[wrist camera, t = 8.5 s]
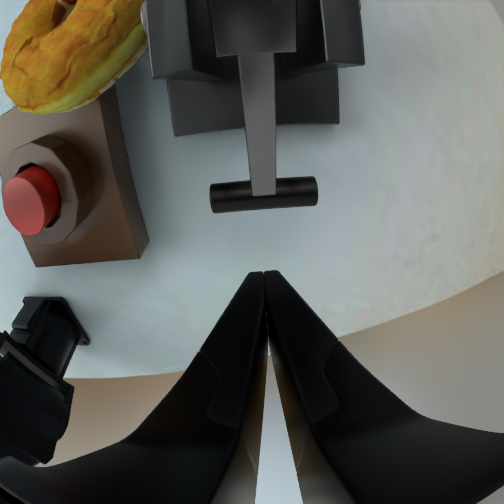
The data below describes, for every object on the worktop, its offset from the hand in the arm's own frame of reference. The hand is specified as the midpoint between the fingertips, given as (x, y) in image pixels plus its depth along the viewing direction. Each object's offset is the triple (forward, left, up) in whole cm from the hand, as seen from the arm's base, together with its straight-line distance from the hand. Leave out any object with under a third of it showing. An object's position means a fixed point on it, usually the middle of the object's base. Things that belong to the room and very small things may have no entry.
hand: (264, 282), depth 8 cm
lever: (+5, 0, -5) cm, 7 cm away
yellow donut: (+12, +8, -5) cm, 15 cm away
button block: (+2, +13, -10) cm, 16 cm away
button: (+2, +13, -6) cm, 14 cm away
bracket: (+8, 0, -10) cm, 13 cm away
